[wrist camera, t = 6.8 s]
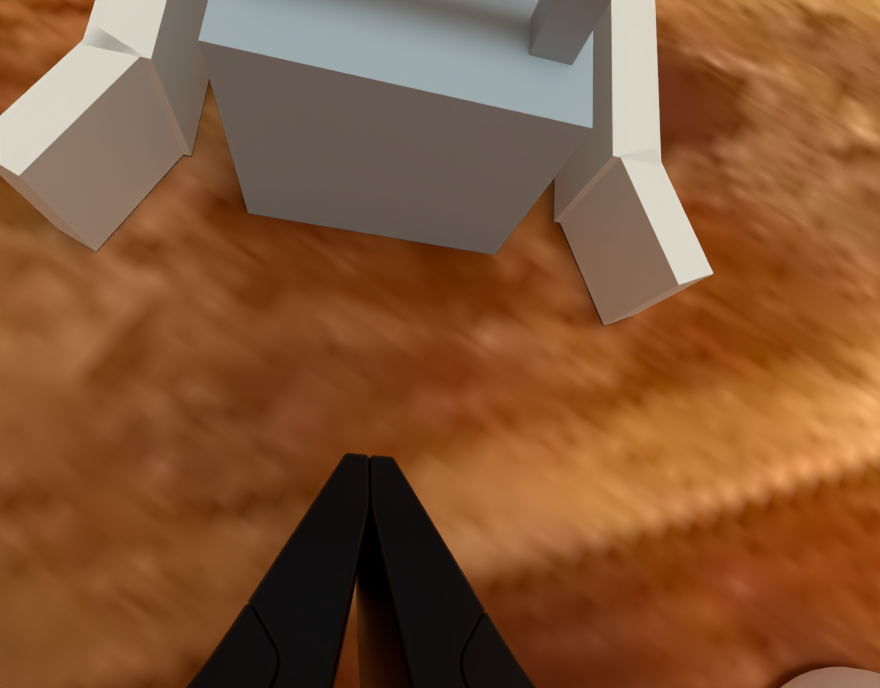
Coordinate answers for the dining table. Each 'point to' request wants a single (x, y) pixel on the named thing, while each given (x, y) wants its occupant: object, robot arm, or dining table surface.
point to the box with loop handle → (402, 109)
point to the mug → (836, 679)
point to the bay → (179, 110)
